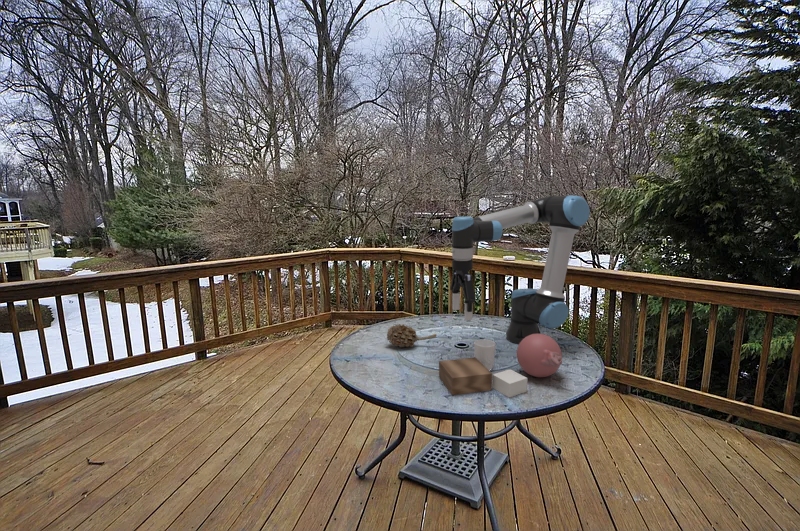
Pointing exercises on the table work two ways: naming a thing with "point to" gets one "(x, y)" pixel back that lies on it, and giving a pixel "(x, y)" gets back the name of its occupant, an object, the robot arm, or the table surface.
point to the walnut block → (465, 376)
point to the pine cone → (404, 336)
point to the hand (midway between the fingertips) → (461, 314)
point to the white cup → (485, 352)
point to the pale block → (509, 383)
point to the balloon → (539, 355)
